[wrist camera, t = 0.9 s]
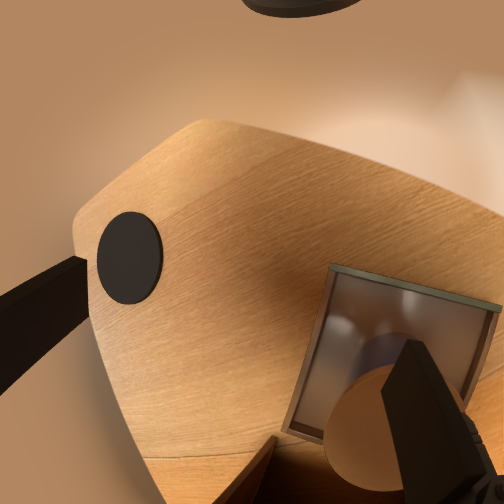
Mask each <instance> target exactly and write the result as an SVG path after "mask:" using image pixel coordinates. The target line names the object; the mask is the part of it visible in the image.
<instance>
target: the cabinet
mask: <svg viewBox="0 0 504 504" xmlns="http://www.w3.org/2000/svg"><path fill="white" fill-rule="evenodd" d="M277 439H278V438H277V437H275V436H271V437H270V438H269V439H268V441H267V442H266V443H265V444H264V445H263V447H262V448H261V449H260V450H259V452H258V453H257V454H256V455H255V456H254V458H253V459H252V460H251V461H250V462H249V463H248V465H247V466H246V467H245V468H244V469H243V470H242V472H241V473H240V474H239V475H238V476H237V477H236V478H235V479H234V481H233V482H232V483H231V484H230V485H229V486H228V487H227V488H226V489H225V490H224V492H223V493H222V494H221V495H220V496H219V497H218V498H217V499H216V500H215V501H214V502H213V503H212V504H252V502H253V499H254V497H255V495H256V492H257V490H258V487H259V485H260V483H261V480H262V478H263V475H264V473H265V470H266V468H267V465H268V462H269V460H270V457H271V455H272V452H273V449H274V447H275V444H276V441H277ZM404 504H406V501H405V503H404Z"/></svg>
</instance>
